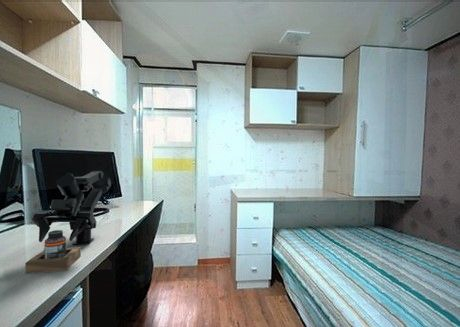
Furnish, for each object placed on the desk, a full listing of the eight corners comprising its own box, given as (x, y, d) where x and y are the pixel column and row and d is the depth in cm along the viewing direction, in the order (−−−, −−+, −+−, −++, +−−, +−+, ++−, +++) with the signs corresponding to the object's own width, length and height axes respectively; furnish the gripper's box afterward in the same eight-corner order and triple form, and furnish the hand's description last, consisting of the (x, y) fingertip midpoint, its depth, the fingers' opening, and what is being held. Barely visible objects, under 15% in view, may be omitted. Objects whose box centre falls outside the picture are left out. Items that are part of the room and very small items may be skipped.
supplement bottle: (52, 260, 82) (52, 229, 82) (69, 260, 83) (70, 228, 82) (39, 268, 76) (40, 234, 76) (58, 268, 77) (59, 234, 77)
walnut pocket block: (45, 258, 84) (45, 249, 84) (80, 256, 86) (80, 247, 86) (25, 273, 72) (25, 262, 72) (66, 270, 75) (66, 259, 75)
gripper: (35, 190, 83) (11, 230, 72) (92, 190, 86) (77, 228, 75) (48, 208, 91) (28, 246, 80) (99, 207, 94) (87, 244, 83)
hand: (55, 241), depth 79 cm, fingers open, 9 cm apart
